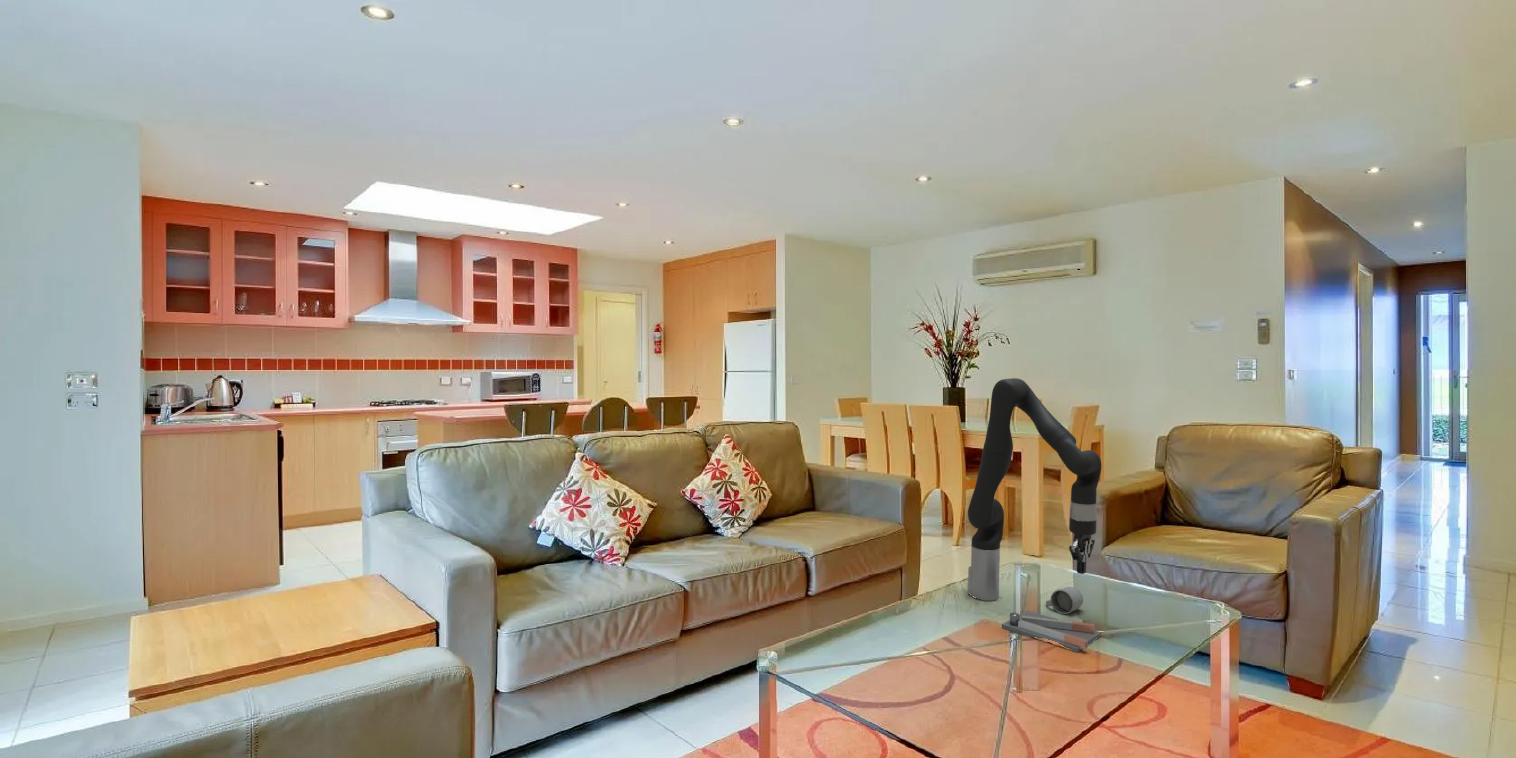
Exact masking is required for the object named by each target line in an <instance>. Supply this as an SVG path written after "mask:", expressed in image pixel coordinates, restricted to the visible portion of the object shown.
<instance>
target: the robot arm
mask: <svg viewBox="0 0 1516 758" xmlns="http://www.w3.org/2000/svg"><path fill="white" fill-rule="evenodd" d="M1015 407H1016V408H1018V409H1020V410H1021V411H1022V412H1024V413H1025V414H1026V415H1027V417H1029V419H1030V420H1031V421H1032V423H1033V425H1034V427H1035V429H1036V430H1037V433H1038V434H1039V436H1040V437H1041V438H1042V439H1043V440H1044V441H1045V442H1046V443H1047V445H1049V446H1050V447H1051V448H1052V449H1053V450H1054V451H1055V452H1056V453H1057V455H1058V457H1059V458H1060V460H1061V462H1063V465H1064V466H1065V467H1066V468H1067V470H1068V471H1070V472H1071V473H1072V474H1073V475H1076V476H1077V477H1076V480H1075V481H1074V482H1073V483H1072V484H1071V490H1070V504H1069V520H1068V521H1069V523H1068V530H1069V532H1070V533H1073V539H1072V545H1069V546H1068V550H1069V553H1070V554H1071V555H1070V556H1071V557H1072V560H1073V561H1076V573H1077V574H1080V575H1084V574H1086V573H1087V561H1089V558H1091V556H1092V552H1093V549H1094V545H1095V541H1096V540H1095V539H1092V536H1093V535H1096V533H1097V518H1098V517H1097V515H1098V514H1097V513H1098V511H1097V509H1098V508H1097V488H1098V485H1099V482H1100V477H1101V473H1102V459H1101V457H1100V455H1099V454H1098V453H1097V452H1096V451H1094V450H1091V449H1090V450H1089V449H1088V450H1087V449H1086V450H1083V451H1082V450H1081V449H1080V448H1079V447H1078V446H1077V439H1076V437H1075V436H1074V435H1073V434H1072V433H1071V432H1070V431H1069V430H1068V429H1067V428H1065V426H1063V424H1061V423H1060V421H1058V419H1057V418H1056V417H1054V416H1053V415H1052V413H1051V412H1050V411H1049V410H1048V409H1047V408H1046V407H1045V405H1044V404H1043V402H1042V401H1041V400H1040V399H1039V397H1038V396H1037V395H1036V394H1035V392H1034V391H1033V390H1032V389H1031V387H1030V386H1029V385H1028V383H1027V382H1025V380H1023V379H1021V378H1017V377H1014V378H1013V377H1012V378H1003V379H1000V380H998V381H997V382H996V383H995V384H994V386H993V389H992V393H991V400H990V409H989V410H990V411H989V418H988V424H987V429H986V434H985V440H984V444H983V448H982V451H981V452H982V453H981V457H980V458H981V459H980V464H979V468H978V473H977V478H976V482H975V485H974V486H975V487H974V489H973V492H972V496H971V499H970V502H969V506H968V507H967V508H968V509H967V518H968V520H969V523H970V525H972V527H973V528H975V529H977V530H976V532H975V533H974V534H973V536H972V537H971V548H970V549H971V550H970V552H971V553H970V554H971V557H970V560H971V562H970V566H969V567H968V573H967V576H968V577H967V594H968V593H970V594H971V595H972V596H974V597H976V598H978V599H977V600H979V599H981V600H980V601H986V602H991V601H996V600H998V599H999V597H1000V595H999V594H1000V566H1001V565H1000V563H1001V562H1000V561H1001V559H1000V556H1001V542H1002V540H1003V536H1004V524H1005V523H1004V522H1005V513H1004V508H1003V505H1002V503H1000V501H999V500H997V499H995V497H996V493H997V490H998V488H999V486H1000V484H1001V483H1002V482H1003V479H1004V478H1005V476H1006V474H1007V472H1008V470H1009V468H1010V466H1011V462H1012V456H1013V453H1014V452H1013V451H1014V443H1013V441H1014V440H1013V436H1012V432H1011V419H1012V416H1013V411H1014V408H1015ZM971 595H970V596H971ZM972 596H971V597H972ZM976 598H975V599H976Z"/></svg>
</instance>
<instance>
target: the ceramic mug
mask: <svg viewBox="0 0 1516 758" xmlns="http://www.w3.org/2000/svg"><path fill="white" fill-rule="evenodd" d="M1083 603H1084V597H1083V594H1082V592H1081V591H1080V589H1078V588H1076V587H1074V586H1073V587H1072V586H1066V587H1062V588H1060V589H1059V588H1058V589H1056V590H1054V591H1053V592H1052V593H1051V595H1050V599H1048V600H1046V601H1045V604H1046V606H1047V607H1053V609H1054V610H1055V611H1056V612H1057V613H1058V614H1061V615H1069V614H1070V613H1073V612H1074V611H1077V610H1078V609H1080V608H1081V606H1082V605H1083Z"/></svg>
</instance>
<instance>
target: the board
mask: <svg viewBox="0 0 1516 758" xmlns="http://www.w3.org/2000/svg"><path fill="white" fill-rule="evenodd" d="M1019 615H1020V618H1019V621H1020V620H1022V616H1030V617H1039V618H1047V619H1055V620H1059V619H1057V618H1053V617H1051V616H1047V615H1044V614H1041V613H1038V612H1037V613H1036V612H1035V611H1034V612H1033V611H1030V610H1026V611H1024V612H1022V613H1019ZM1042 627H1043V626H1042ZM1045 628H1049V629H1052V630H1055V631H1058V632H1061V633H1065V634H1069V635H1073V636H1076V637H1079V638H1082V639H1085V640H1088V646H1090V644H1092V643H1094V642H1095V641H1096V640H1097V639H1096V638H1098V637H1099V636H1100V635H1101V636H1102V632H1101V631H1098V630H1094V633H1088V632H1080V631H1072V630H1067V629H1059V628H1051V627H1045ZM1001 629H1004V630H1007V631H1010V632H1012V633H1015V634H1016V633H1017V634H1019V635H1022V636H1025V637H1028V638H1031V637H1037V638H1046V639H1048V640H1052V641H1055V642H1058V643H1059V644H1061V645H1063V646H1064V647H1066V648H1069V649H1071V650H1072V651H1071V650H1070V651H1071V652H1075V653H1079V652H1080V651H1081V649H1082V648H1079V647H1076V646H1073V645H1070V644H1067V643H1064V642H1061V641H1058V640H1055V639H1051V638H1048V637H1045V636H1042V635H1039V634H1036V633H1033V632H1030V631H1026V630H1023V629H1020V628H1018V626H1013V625H1011V624H1010V619H1009V620H1006V621H1005V622H1003V623H1001ZM1099 638H1100V637H1099ZM1099 638H1098V639H1099ZM1095 639H1096V640H1095ZM1094 640H1095V641H1094ZM1093 641H1094V642H1093ZM1082 650H1083V649H1082Z"/></svg>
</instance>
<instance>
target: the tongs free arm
mask: <svg viewBox="0 0 1516 758" xmlns="http://www.w3.org/2000/svg"><path fill="white" fill-rule="evenodd" d="M1055 619H1056V618H1054V619H1047V618H1039V617H1030V616H1022V620H1023V621H1026V622H1029V623H1032V624H1036V625H1039V626H1043V627H1051V628H1059V629H1067V630H1072V631H1080V632H1088V633H1094V631H1095V624H1094V623H1090V622H1080V621H1069V620H1062V619H1058V620H1055Z"/></svg>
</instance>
